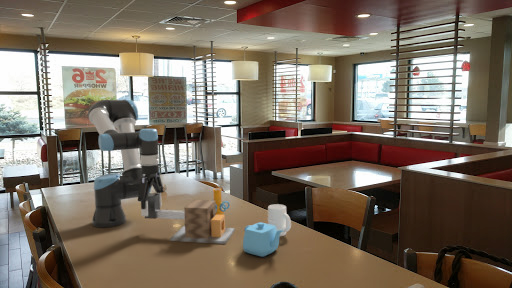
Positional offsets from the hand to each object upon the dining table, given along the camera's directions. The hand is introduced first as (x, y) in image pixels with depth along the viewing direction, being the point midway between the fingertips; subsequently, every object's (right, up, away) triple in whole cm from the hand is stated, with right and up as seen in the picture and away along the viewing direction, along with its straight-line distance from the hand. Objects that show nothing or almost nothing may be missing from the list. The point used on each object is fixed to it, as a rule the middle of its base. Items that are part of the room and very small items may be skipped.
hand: (152, 211), depth 168 cm
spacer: (+30, -5, -5) cm, 31 cm away
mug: (+57, -10, -3) cm, 58 cm away
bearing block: (+22, -10, -3) cm, 25 cm away
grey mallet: (+11, -3, -2) cm, 11 cm away
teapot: (+49, -12, -22) cm, 55 cm away
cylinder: (+27, -7, +19) cm, 34 cm away
